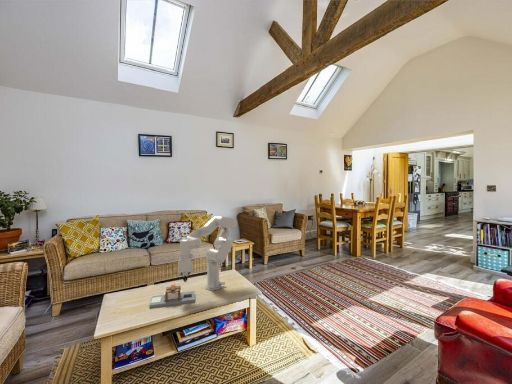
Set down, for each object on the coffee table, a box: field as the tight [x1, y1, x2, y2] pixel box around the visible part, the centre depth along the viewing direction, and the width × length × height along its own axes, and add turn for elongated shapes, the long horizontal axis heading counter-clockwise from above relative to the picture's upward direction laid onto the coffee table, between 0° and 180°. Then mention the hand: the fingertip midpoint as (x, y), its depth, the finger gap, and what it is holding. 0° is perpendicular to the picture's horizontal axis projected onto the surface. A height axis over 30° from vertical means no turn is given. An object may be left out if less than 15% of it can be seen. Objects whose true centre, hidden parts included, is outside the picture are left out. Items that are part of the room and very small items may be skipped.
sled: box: [163, 281, 183, 300], centre depth 177 cm, size 12×7×10 cm, turn 105°
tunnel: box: [164, 285, 182, 302], centre depth 177 cm, size 10×9×6 cm
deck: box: [149, 291, 196, 309], centre depth 177 cm, size 30×14×2 cm, turn 105°
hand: (185, 281), depth 178 cm, fingers closed
